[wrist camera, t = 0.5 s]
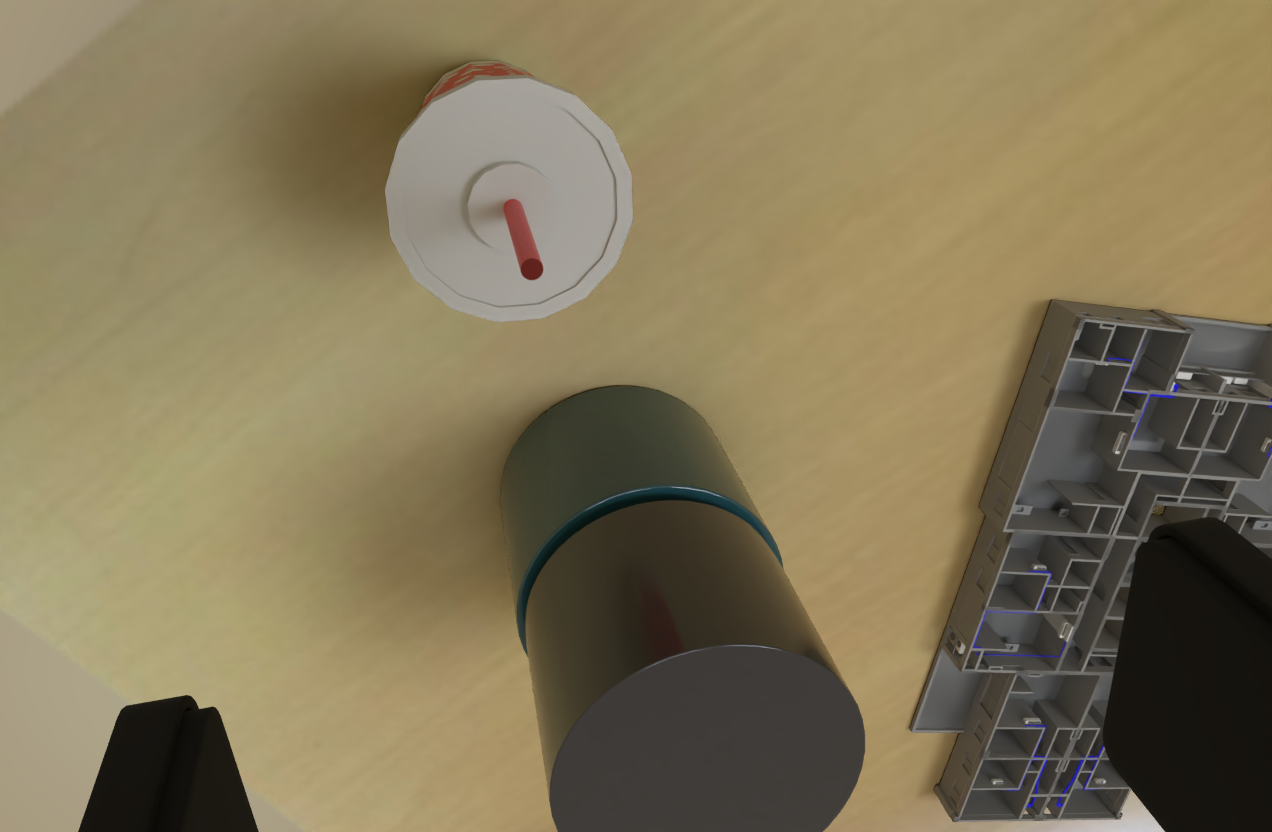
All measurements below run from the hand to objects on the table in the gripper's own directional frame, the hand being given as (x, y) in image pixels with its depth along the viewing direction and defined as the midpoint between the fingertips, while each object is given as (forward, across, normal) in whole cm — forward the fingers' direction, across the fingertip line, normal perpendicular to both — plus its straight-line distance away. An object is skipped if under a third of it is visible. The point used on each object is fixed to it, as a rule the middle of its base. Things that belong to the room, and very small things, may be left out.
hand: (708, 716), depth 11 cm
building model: (+26, -26, +22) cm, 43 cm away
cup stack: (+26, -3, +14) cm, 30 cm away
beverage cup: (+27, 0, 0) cm, 27 cm away
